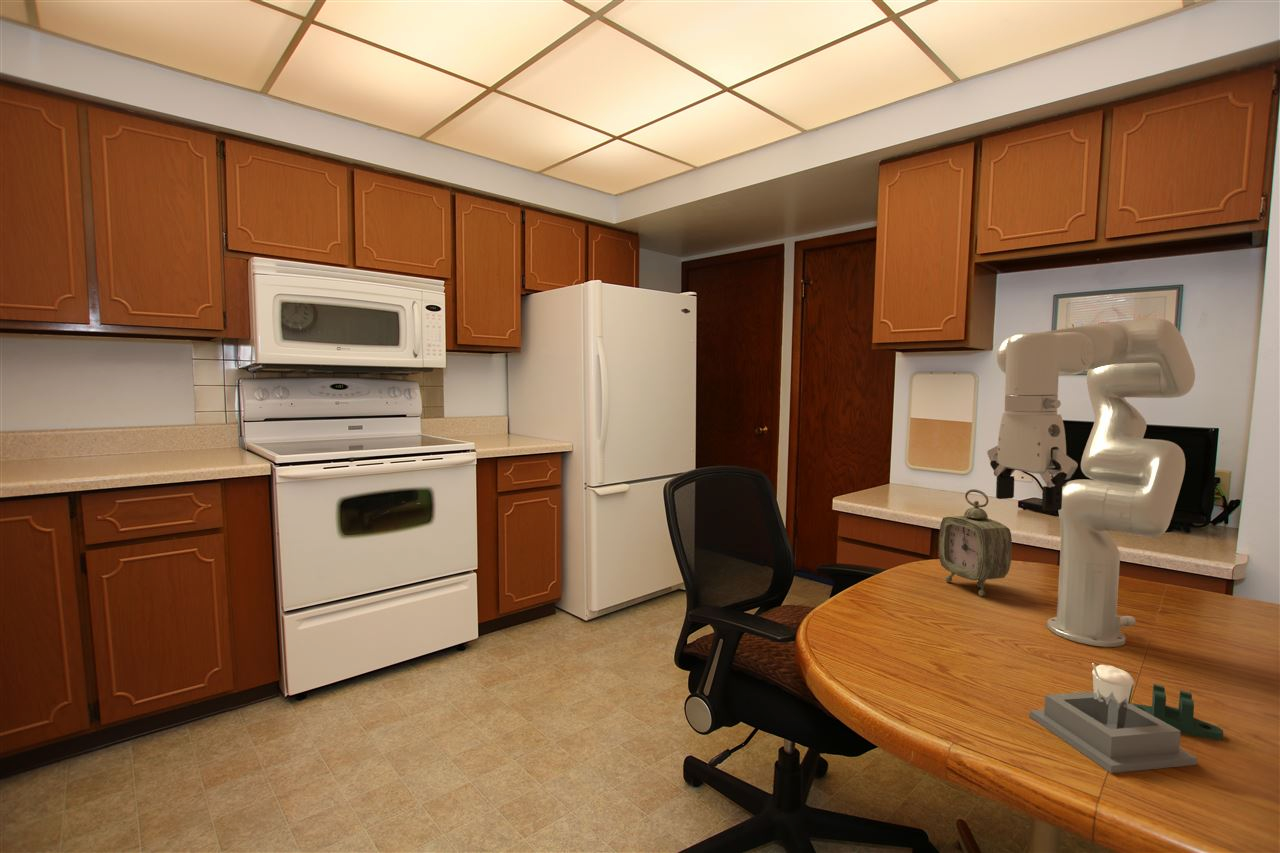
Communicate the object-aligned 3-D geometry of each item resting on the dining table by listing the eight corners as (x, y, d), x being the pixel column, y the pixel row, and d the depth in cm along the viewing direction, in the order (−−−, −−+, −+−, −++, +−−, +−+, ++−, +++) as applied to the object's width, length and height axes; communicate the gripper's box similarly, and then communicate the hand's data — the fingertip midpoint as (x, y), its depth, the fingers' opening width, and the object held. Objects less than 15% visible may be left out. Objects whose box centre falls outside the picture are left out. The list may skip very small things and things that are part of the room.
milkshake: (1075, 722, 84) (1079, 655, 84) (1110, 721, 84) (1114, 655, 84) (1102, 741, 80) (1106, 671, 79) (1139, 740, 80) (1143, 670, 79)
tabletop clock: (937, 580, 151) (941, 485, 149) (966, 577, 153) (970, 484, 151) (982, 600, 137) (987, 495, 135) (1013, 597, 139) (1018, 494, 137)
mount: (1220, 732, 84) (1222, 699, 84) (1225, 746, 81) (1227, 712, 80) (1122, 706, 91) (1124, 675, 91) (1123, 718, 88) (1125, 686, 87)
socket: (1104, 710, 89) (1106, 685, 89) (1196, 764, 76) (1198, 735, 76) (1029, 716, 87) (1031, 691, 87) (1110, 773, 75) (1112, 743, 74)
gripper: (1097, 407, 91) (1092, 513, 92) (1009, 403, 108) (1006, 493, 109) (1056, 408, 90) (1052, 516, 91) (973, 404, 107) (971, 495, 108)
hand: (1027, 503), depth 100 cm, fingers open, 9 cm apart
